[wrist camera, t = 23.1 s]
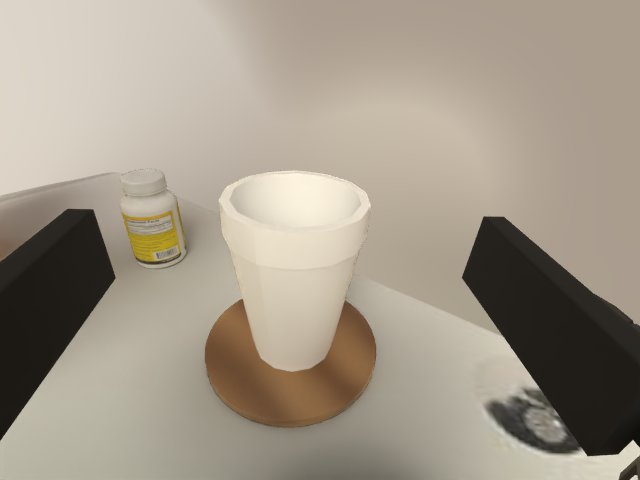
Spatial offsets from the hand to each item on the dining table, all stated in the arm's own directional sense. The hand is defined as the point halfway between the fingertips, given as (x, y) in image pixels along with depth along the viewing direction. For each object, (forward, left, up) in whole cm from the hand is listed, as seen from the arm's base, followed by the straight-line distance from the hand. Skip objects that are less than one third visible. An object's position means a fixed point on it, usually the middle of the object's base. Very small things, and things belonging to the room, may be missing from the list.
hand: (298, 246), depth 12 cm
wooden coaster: (+7, +7, -16) cm, 19 cm away
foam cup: (+7, +7, -16) cm, 18 cm away
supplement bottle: (+6, +27, -16) cm, 32 cm away
